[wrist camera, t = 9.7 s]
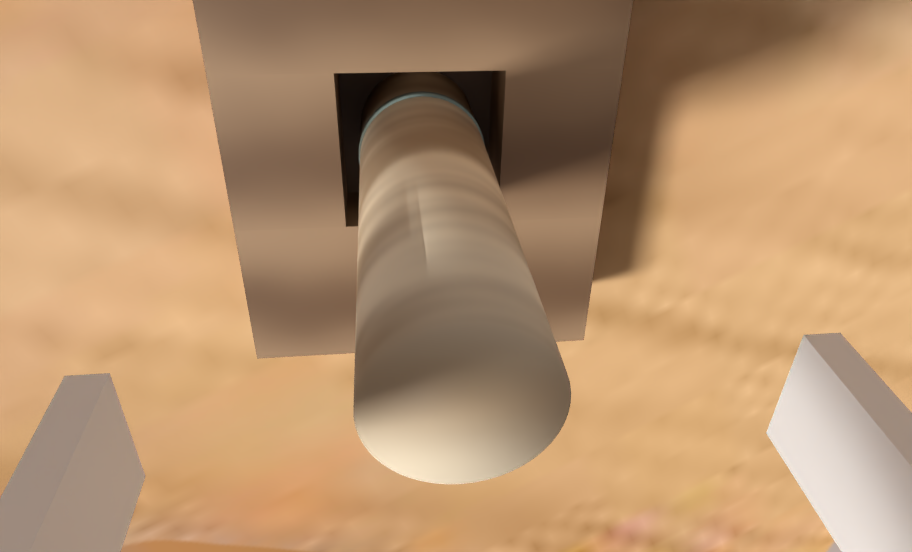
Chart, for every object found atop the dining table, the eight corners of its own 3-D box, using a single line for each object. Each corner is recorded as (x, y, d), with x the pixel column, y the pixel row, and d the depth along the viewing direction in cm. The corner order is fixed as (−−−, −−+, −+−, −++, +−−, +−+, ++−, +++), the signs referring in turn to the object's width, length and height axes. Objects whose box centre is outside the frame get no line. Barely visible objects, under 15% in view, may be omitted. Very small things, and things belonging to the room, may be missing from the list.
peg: (356, 68, 26) (342, 326, 13) (475, 66, 26) (585, 313, 13) (363, 178, 28) (357, 493, 15) (472, 175, 29) (562, 478, 15)
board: (196, -149, 23) (167, -144, 19) (613, -143, 24) (653, -137, 21) (268, 303, 33) (257, 358, 29) (562, 289, 34) (583, 340, 31)
